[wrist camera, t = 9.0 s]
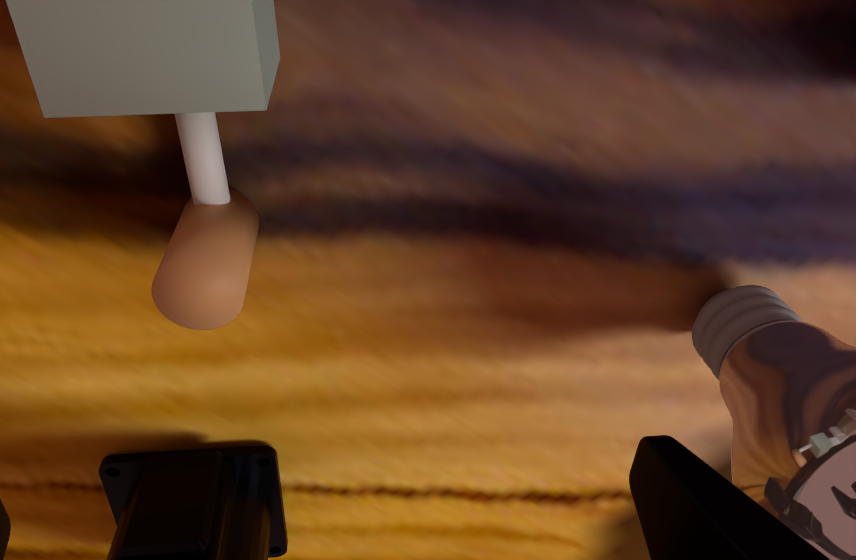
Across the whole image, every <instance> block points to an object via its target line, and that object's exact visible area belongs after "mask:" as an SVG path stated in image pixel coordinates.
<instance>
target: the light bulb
mask: <svg viewBox="0 0 856 560" xmlns="http://www.w3.org/2000/svg"><path fill="white" fill-rule="evenodd" d="M692 341H693V345H694V347H695V349H696V351H697V352H698V354H699V355H700V356H701V357H702V358H703V360H704V362H705V363H706V365H707V366H708V367H709V368H710V369H711V370H712V372H713V374H714V375H715V377H716V378H717V379H718V380H719V384H720V392H721V395H722V397H723V400H724V402H725V404H726V407H727V408H728V410H729V412H730V415H731V417H732V422H733V438H732V451H731V464H732V479H733V484H734V485H735V486H736V487H737V488H739V489H740V490H741V491H743V492H744V493H745V494H746V495H748V496H749V497H750V498H752V499H753V500H754V501H756V502H757V503H758V504H759V505H761V506H762V507H763V508H765V509H766V510H767V511H768V512H770V513H771V514H772V515H774V516H775V517H776V518H777V519H779V520H780V521H781V522H783V523H784V524H785V525H787V526H788V527H789V528H790V529H792V530H793V531H794V532H796V533H797V534H798V535H799V536H801V537H802V538H803V539H805V540H806V541H807V542H808V543H810V544H811V545H812V546H814V547H815V548H816V549H818V550H819V551H820V552H821V553H823V554H824V555H825V556H827V557H828V558H829V559H830V560H856V347H854V346H851V345H848V344H846V343H844V342H842V341H841V340H839V339H837V338H836V337H834V336H833V335H831V334H830V333H829V332H827V331H825V330H823V329H821V328H819V327H817V326H814V325H812V324H809V323H805V322H803V321H802V320H801V318H800V317H799V316H798V315H797V314H796V313H795V312H793V311H792V310H791V309H790V308H789V306H788V305H787V304H786V303H785V302H783V301H782V300H781V299H780V298H779V297H778V296H777V295H776V294H775V293H774V292H773V291H771V290H770V289H768V288H765V287H762V286H756V285H746V286H740V287H736V288H732V289H728V290H725V291H722V292H720V293H717V294H715V295H713V296H712V297H711V298H709V299H708V301H707V302H706V303H705V304H704V305H703V307H702V308H701V310H700V312H699V314H698V316H697V318H696V320H695V322H694V325H693V329H692Z"/></svg>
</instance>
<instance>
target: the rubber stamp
mask: <svg viewBox="0 0 856 560" xmlns="http://www.w3.org/2000/svg"><path fill="white" fill-rule="evenodd" d="M6 2H7V6H8V9H9V12H10V15H11V18H12V21H13V24H14V27H15V30H16V33H17V36H18V39H19V42H20V45H21V48H22V51H23V54H24V57H25V60H26V64H27V67H28V70H29V73H30V76H31V79H32V82H33V85H34V88H35V91H36V94H37V97H38V100H39V103H40V106H41V109H42V112H43V115H44V118H56V117H85V116H115V115H144V114H175V119H176V123H177V128H178V133H179V137H180V142H181V147H182V151H183V156H184V161H185V166H186V170H187V175H188V180H189V184H190V189H191V194H192V197H191V198H190V199H189V200H188V201H187V203H186V205H185V207H184V209H183V212H182V214H181V216H180V219H179V221H178V223H177V226H176V228H175V231H174V233H173V235H172V238H171V240H170V242H169V245H168V247H167V249H166V252H165V254H164V256H163V259H162V261H161V263H160V266H159V268H158V270H157V273H156V275H155V277H154V280H153V283H152V296H153V300H154V302H155V304H156V306H157V308H158V309H159V310H160V312H161V313H162V314H163V315H164V316H165V317H167V318H168V319H169V320H171V321H172V322H174V323H176V324H178V325H180V326H183V327H186V328H189V329H195V330H210V329H215V328H219V327H222V326H224V325H226V324H228V323H229V322H231V321H232V320H233V319H235V318H236V317H237V315H238V314H239V313H240V311H241V309H242V307H243V303H244V298H245V293H246V288H247V283H248V278H249V273H250V268H251V263H252V258H253V253H254V248H255V243H256V238H257V233H258V228H259V218H258V214H257V211H256V209H255V207H254V206H253V204H252V203H251V202H250V201H249V200H248V199H247V198H246V197H245V196H244V195H242V194H241V193H239V192H237V191H235V190H232V189H229V188H228V184H227V178H226V172H225V167H224V161H223V156H222V150H221V144H220V139H219V133H218V128H217V122H216V116H215V112H233V111H262V110H267V106H268V102H269V98H270V95H271V91H272V87H273V83H274V79H275V76H276V72H277V68H278V64H279V60H280V53H279V44H278V35H277V27H276V18H275V10H274V1H273V0H6Z"/></svg>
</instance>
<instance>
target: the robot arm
mask: <svg viewBox="0 0 856 560" xmlns="http://www.w3.org/2000/svg"><path fill="white" fill-rule="evenodd" d="M261 458H267V459H261ZM99 475H100V478H101V480H102V483H103V486H104V489H105V492H106V495H107V498H108V501H109V504H110V506H111V509H112V512H113V515H114V518H115V521H116V524H117V529H116V532H115V535H114V538H113V541H112V545H111V548H110V551H109V554H108V557H107V560H268V558H271V557H279V556H282V555H284V554H285V553H286V552H287V544H288V539H287V531H286V523H285V515H284V507H283V499H282V490H281V482H280V474H279V466H278V458H277V453H276V450H275V449H273V448H272V447H270V446H263V445H262V446H246V447H230V448H214V449H198V450H182V451H166V452H150V453H134V454H118V455H110V456H107V457H105V458H104V459H103V461H102V463H101V465H100V468H99ZM629 484H630V490H631V493H632V497H633V500H634V503H635V507H636V510H637V514H638V517H639V520H640V524H641V527H642V531H643V534H644V537H645V541H646V544H647V548H648V551H649V554H650V558H651V560H830V559H829V558H828V557H827V556H825V555H824V554H823V553H821V552H820V551H819V550H818V549H816V548H815V547H814V546H812V545H811V544H810V543H808V542H807V541H806V540H805V539H803V538H802V537H801V536H799V535H798V534H797V533H796V532H794V531H793V530H792V529H790V528H789V527H788V526H787V525H785V524H784V523H783V522H781V521H780V520H779V519H777V518H776V517H775V516H774V515H772V514H771V513H770V512H768V511H767V510H766V509H765V508H763V507H762V506H761V505H759V504H758V503H757V502H756V501H754V500H753V499H752V498H750V497H749V496H748V495H746V494H745V493H744V492H743V491H741V490H740V489H739V488H737V487H736V486H735V485H734V484H732V483H731V482H730V481H728V480H727V479H726V478H724V477H723V476H722V475H721V474H719V473H718V472H717V471H716V470H714V469H713V468H712V467H710V466H709V465H708V464H706V463H705V462H704V461H703V460H701V459H700V458H699V457H697V456H696V455H695V454H694V453H692V452H691V451H690V450H688V449H687V448H686V447H685V446H683V445H682V444H681V443H679V442H678V441H677V440H675V439H674V438H672V437H670V436H667V435H660V436H646V437H643V438H642V439H641V440H640V442H639V444H638V448H637V451H636V454H635V457H634V461H633V464H632V467H631V470H630V474H629ZM10 530H11V524H10V519H9V516H8V514H7V512H6V510H5V508H4V506H3V504H2V502H1V499H0V560H3V558H4V555H5V551H6V548H7V544H8V541H9V537H10Z"/></svg>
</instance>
